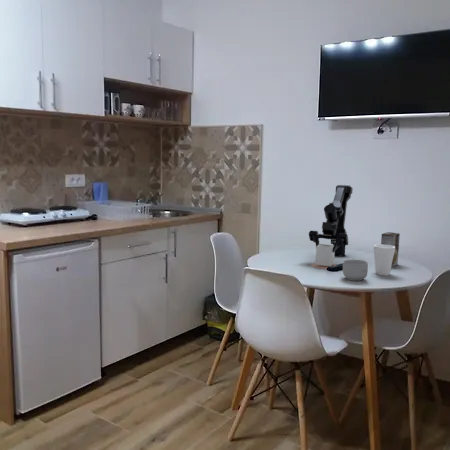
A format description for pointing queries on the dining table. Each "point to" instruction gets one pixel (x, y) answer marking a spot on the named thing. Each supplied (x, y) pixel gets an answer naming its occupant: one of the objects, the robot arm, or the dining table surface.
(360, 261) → the teacup
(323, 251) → the white block
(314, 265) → the plate
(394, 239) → the coffee box
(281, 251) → the dining table surface
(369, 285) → the dining table surface
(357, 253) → the dining table surface
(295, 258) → the dining table surface
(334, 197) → the robot arm
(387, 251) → the foam cup
